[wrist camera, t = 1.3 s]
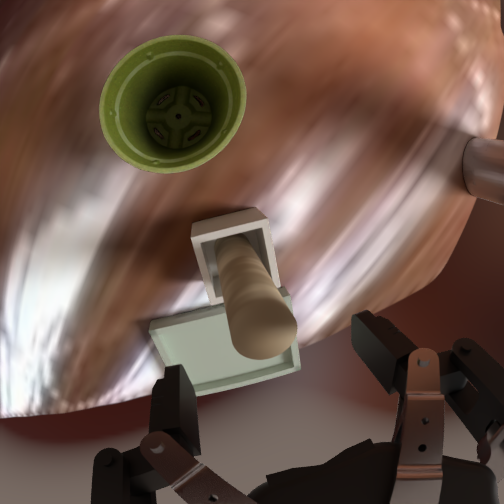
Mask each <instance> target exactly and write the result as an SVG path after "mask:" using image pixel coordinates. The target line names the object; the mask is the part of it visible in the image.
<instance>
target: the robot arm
mask: <svg viewBox="0 0 504 504" xmlns="http://www.w3.org/2000/svg"><path fill="white" fill-rule="evenodd" d="M463 175H464V180H465V184H466V187H467V189H468V191H469V192H470V193H471V194H472V195H473V196H475V197H478V198H482V199H485V200H489V201H492V202H495V203H498V204H502V205H504V140H496V139H486V138H473V139H471V140H470V141H469V142H468V144H467V146H466V148H465V152H464V156H463ZM351 341H352V345H353V348H354V350H355V351H356V353H357V354H358V355H359V357H360V358H361V359H362V360H363V361H364V363H365V364H366V365H367V367H368V368H369V369H370V371H371V372H372V373H373V375H374V376H375V377H376V378H377V380H378V381H379V382H380V384H381V385H382V386H383V388H384V389H385V390H386V391H387V393H388V394H389V395H391V394H393V393H394V392H396V391H397V392H398V393H399V394H400V396H399V401H398V409H397V416H396V422H395V428H394V433H393V437H392V440H391V442H380V443H374V444H373V443H372V441H371V439H367V440H365V441H363V442H361V443H359V444H356V445H354V446H352V447H349V448H347V449H345V450H344V451H342V452H341V453H339V454H338V455H337V456H335V457H334V458H332V459H331V460H329V461H327V462H326V463H324V464H322V465H317V466H308V467H299V468H291V469H288V470H285V471H281V472H277V473H274V474H270V475H266V478H267V482H265V483H263V484H261V485H260V486H258V487H257V488H255V489H254V490H253V491H251V493H250V494H248V495H247V496H246V495H245V494H243V493H242V492H240V491H239V490H237V489H236V488H234V487H233V486H232V485H230V484H229V483H228V482H226V481H225V480H224V479H222V478H221V477H220V476H218V475H217V474H216V473H214V472H213V471H212V470H211V469H209V468H208V467H207V466H205V465H204V464H201V463H200V462H198V461H197V460H196V459H195V458H194V456H198V455H201V448H200V439H199V427H198V415H197V402H196V394H195V390H194V387H193V385H192V383H191V381H190V379H189V377H188V375H187V373H186V371H185V369H184V367H183V365H182V364H177V365H172V366H167V367H165V374H164V378H163V379H158V380H157V381H156V383H155V385H154V387H153V388H152V399H151V409H150V422H149V434H147V435H146V436H145V437H144V438H143V439H142V441H141V443H140V446H138V447H137V448H134V449H131V450H129V451H126V452H123V453H120V452H119V451H118V450H117V449H114V448H106V449H103V450H101V451H100V452H99V453H98V454H97V455H96V456H95V459H94V465H93V476H92V491H91V504H157V503H156V490H158V489H161V488H164V487H167V486H169V485H170V486H171V487H172V489H173V490H174V491H175V492H176V493H177V494H178V495H179V496H180V497H181V498H182V499H183V500H184V501H186V502H187V503H188V504H499V499H498V487H497V483H499V482H500V480H502V479H503V478H504V368H503V367H502V366H500V364H499V363H498V362H497V361H496V360H494V359H493V358H492V357H491V356H490V355H489V354H488V353H487V352H486V351H485V350H484V349H483V348H482V347H481V346H479V345H478V344H477V343H476V342H475V341H474V340H472V339H469V338H461V339H458V340H456V341H455V342H454V344H453V346H452V350H448V351H445V352H441V353H435V352H434V351H432V350H430V349H426V348H420V349H419V348H418V347H417V346H416V345H415V344H413V342H412V341H411V340H410V339H408V338H407V337H406V336H405V335H404V334H403V333H402V332H400V330H399V329H398V328H397V327H395V325H394V324H392V323H391V322H390V321H389V320H388V319H385V318H383V317H381V316H377V317H375V316H374V315H373V314H372V313H371V312H370V311H369V310H364V311H362V312H359V313H356V314H354V315H352V319H351ZM467 380H469V381H470V382H471V383H472V384H473V385H474V387H475V388H476V389H477V390H478V392H477V391H476V390H475V388H474V387H473V386H472V385H471V384H470V383H469V382H468V381H467ZM445 401H446V402H447V403H448V404H449V406H450V407H451V408H452V409H453V411H454V412H455V413H456V415H457V416H458V417H459V418H460V420H461V421H462V422H463V424H464V425H465V426H466V428H467V429H468V430H469V432H470V433H471V434H472V436H473V437H474V438H475V440H476V441H477V443H478V444H477V454H478V455H477V459H478V460H479V461H480V463H479V462H473V461H468V460H463V459H458V458H453V457H449V456H444V455H442V454H443V441H444V420H445V419H444V418H445Z"/></svg>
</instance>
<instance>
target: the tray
mask: <svg viewBox="0 0 504 504" xmlns="http://www.w3.org/2000/svg"><path fill="white" fill-rule="evenodd" d="M278 291H279V292H280V294H281V296H282V297H283V299H284V301H285V302H286V304H287V306H288V308H289V309H290V311H291V313H292V314H293V310H292V303H291V297H290V294H289V293H288V291H287V289H286V288H285V287H282V288H278ZM149 333H150V335H151V337H152V339H153V341H154V343H155V346H156V348H157V350H158V352H159V354H160V356H161V358H162V360H163V362H164V363H165V365H166V367H167V366H172V365H177V364H182V365H183V367H184V369H185V371H186V373H187V375H188V377H189V379H190V381H191V383H192V385H193V387H194V390H195V394H196V396H201V395H206V394H211V393H215V392H220V391H224V390H229V389H233V388H237V387H241V386H245V385H249V384H253V383H257V382H261V381H264V380H268V379H271V378H275V377H278V376H281V375H285V374H288V373H291V372H294V371H298V370H301V365H300V358H299V350H298V343H297V336H296V337H295V339H294V341H293V343H292V344H291V345H290V347H289V348H288V349H287V350H285V351H284V352H283V353H281V354H279V355H278V356H275V357H273V358H270V359H264V360H254V359H249V358H246V357H244V356H242V355H241V354H239V353H238V352H237V351H236V350H235V348H234V346H233V344H232V340H231V335H230V330H229V325H228V321H227V315H226V310H225V305H224V303H222V304H218V305H214V306H210V307H206V308H202V309H198V310H194V311H190V312H186V313H181V314H177V315H173V316H169V317H164V318H160V319H155V320H151V322H150V327H149Z"/></svg>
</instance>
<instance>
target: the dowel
mask: <svg viewBox="0 0 504 504" xmlns="http://www.w3.org/2000/svg"><path fill="white" fill-rule="evenodd" d="M214 251H215V257H216V262H217V268H218V274H219V279H220V284H221V290H222V295H223V300H224V305H225V310H226V315H227V321H228V325H229V330H230V335H231V340H232V344H233V346H234V348H235V350H236V351H237V352H238V353H239V354H241V355H242V356H244V357H246V358H249V359H254V360H264V359H270V358H273V357H275V356H278V355H279V354H281V353H283V352H284V351H285V350H287V349H288V348H289V347H290V345H291V344H292V343H293V341H294V339H295V337H296V334H297V322H296V320H295V318H294V316H293V314H292V313H291V311H290V309H289V308H288V306H287V304H286V302H285V301H284V299H283V297H282V296H281V294H280V292H279V291H278V289H277V287H276V286H275V284H274V282H273V281H272V279H271V277H270V275H269V274H268V272H267V270H266V269H265V267H264V265H263V264H262V262H261V260H260V259H259V257H258V255H257V254H256V252H255V250H254V249H253V247H252V245H251V243H250V242H249V240H248V238H247V237H246V236H245V235H244V234H243V233H237V234H233V235H229V236H225V237H221V238H218V239H217V240H216V242H215V245H214Z"/></svg>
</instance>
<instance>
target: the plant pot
mask: <svg viewBox="0 0 504 504" xmlns="http://www.w3.org/2000/svg"><path fill="white" fill-rule="evenodd" d="M165 95H170V97H169V98H167V99H165V100H164V101H163V102H162V103H160V104H159V105H157V104H158V102H159V100H160V99H161V98H162V97H164V96H165ZM193 96H198V97H199V98H200V99H201V100H202V101H203V103H204V104H203V105H204V106H203V107H202V106H201V105H200V104H199V102H198V101H197V100H196V99H195V98H194V97H193ZM245 106H246V85H245V81H244V78H243V75H242V73H241V70H240V68H239V67H238V65H237V63H236V62H235V61H234V60H233V58H232V57H231V56H230V55H229V54H228V53H227V52H226V51H225V50H224V49H222V48H221V47H219V46H218V45H216V44H214V43H212V42H210V41H208V40H206V39H203V38H199V37H195V36H189V35H170V36H163V37H159V38H156V39H153V40H150V41H148V42H145V43H143V44H141V45H140V46H138V47H136V48H135V49H133V50H132V51H130V52H129V53H128V54H127V55H126V56H124V57H123V58H122V59H121V60H120V61H119V62H118V64H117V65H116V66H115V67H114V68H113V70H112V71H111V73H110V75H109V76H108V78H107V80H106V82H105V84H104V87H103V90H102V93H101V97H100V103H99V118H100V124H101V128H102V132H103V134H104V137H105V139H106V141H107V142H108V144H109V146H110V147H111V148H112V149H113V151H114V152H115V153H116V154H117V155H118V156H119V157H120V158H121V159H123V160H124V161H125V162H127V163H129V164H130V165H132V166H134V167H136V168H138V169H141V170H144V171H148V172H154V173H166V174H168V173H177V172H183V171H187V170H190V169H192V168H195V167H198V166H200V165H202V164H204V163H205V162H207V161H209V160H210V159H212V158H213V157H214V156H216V155H217V154H218V153H219V152H220V151H221V150H222V149H223V148H224V147H225V146H226V145H227V144H228V143H229V142H230V140H231V139H232V138H233V136H234V135H235V133H236V131H237V130H238V128H239V126H240V124H241V121H242V119H243V115H244V111H245ZM177 114H180V115H181V118H180V119H177V118H176V115H177ZM154 128H157V129H158V131H159V132H160V133H161V135H162V136H164V139H161V138H160V137H159V136H158V135H156V134H155V132H154ZM198 130H200V134H199V135H198V136H197V137H195V138H194V139H193V140H188V138H189V137H191V136H192V135H194V134H195V133H196V132H197V131H198Z"/></svg>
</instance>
